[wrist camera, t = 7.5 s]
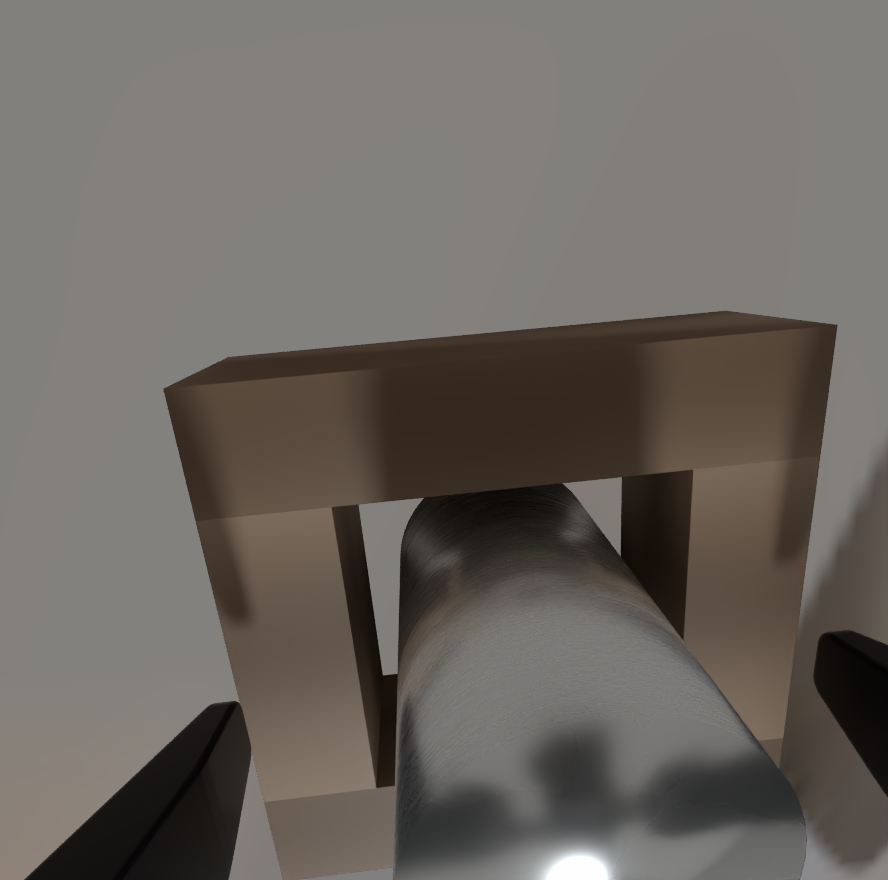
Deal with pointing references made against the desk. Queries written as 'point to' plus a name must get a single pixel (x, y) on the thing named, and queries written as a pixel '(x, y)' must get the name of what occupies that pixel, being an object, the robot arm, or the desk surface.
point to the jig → (485, 469)
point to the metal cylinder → (564, 714)
